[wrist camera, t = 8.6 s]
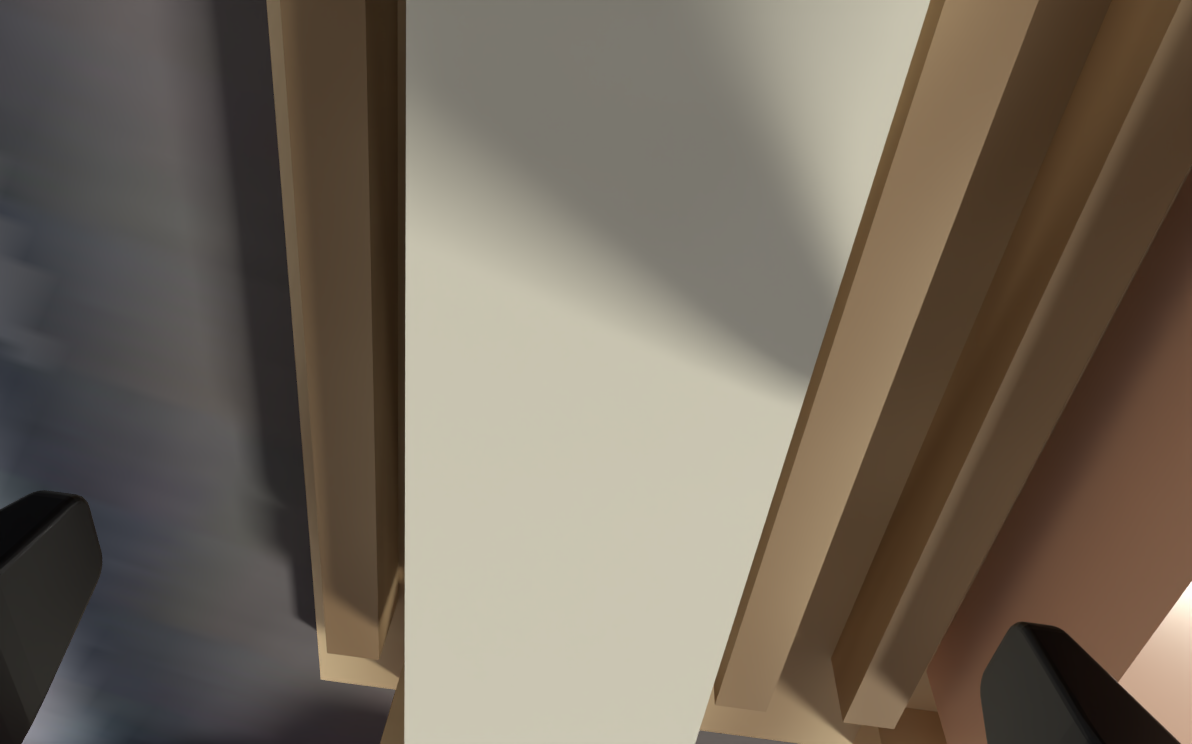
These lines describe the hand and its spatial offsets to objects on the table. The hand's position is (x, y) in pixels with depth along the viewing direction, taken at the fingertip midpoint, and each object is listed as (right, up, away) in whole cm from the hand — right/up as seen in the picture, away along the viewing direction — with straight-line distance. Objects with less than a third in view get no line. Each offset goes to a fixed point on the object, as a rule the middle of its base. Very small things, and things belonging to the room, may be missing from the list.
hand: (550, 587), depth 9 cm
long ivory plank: (+1, +4, +5) cm, 6 cm away
